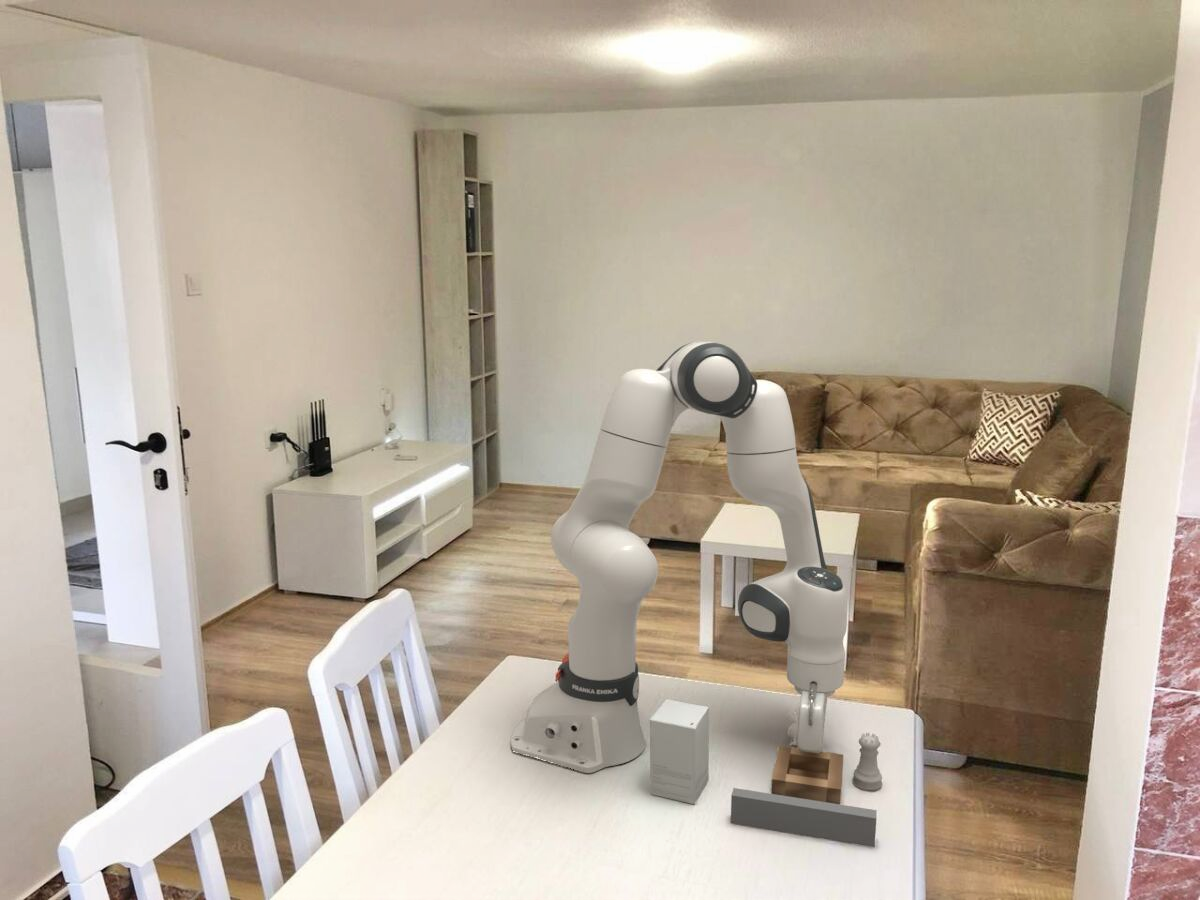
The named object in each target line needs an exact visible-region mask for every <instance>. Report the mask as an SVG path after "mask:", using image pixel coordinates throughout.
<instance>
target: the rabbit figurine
mask: <svg viewBox="0 0 1200 900" xmlns="http://www.w3.org/2000/svg"><path fill="white" fill-rule="evenodd" d="M788 717H789V719H790V720H791V723H792V724H791V725H790V726H789V727H788V730H787V734H788V736H789V738H791V739H793V740H792V741H790V742H789V747H790V746H791V747H792V746H793V745H794V746H797V737H798V719H799V714H797V713H796V712H794V711H789V712H788Z"/></svg>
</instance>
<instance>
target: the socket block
mask: <svg viewBox="0 0 1200 900" xmlns="http://www.w3.org/2000/svg"><path fill="white" fill-rule="evenodd" d="M843 769H844V754H842V753H834V752H827V751H821V752H820V753H810V752H804V751H800V750H799V749H798V747H792V746H791V747H790V746H786V745H778V748H777V752H776V756H775V762H774V768H773V772H772V776H771V789H770V790H771V791H770V794H776V795H783V796H789V797H795V798H802V799H808V800H814V801H821V802H827V803H834V804H840V805H841V801H842V800H841V797H842V786H843V785H842V784H843V771H844V770H843Z"/></svg>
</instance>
